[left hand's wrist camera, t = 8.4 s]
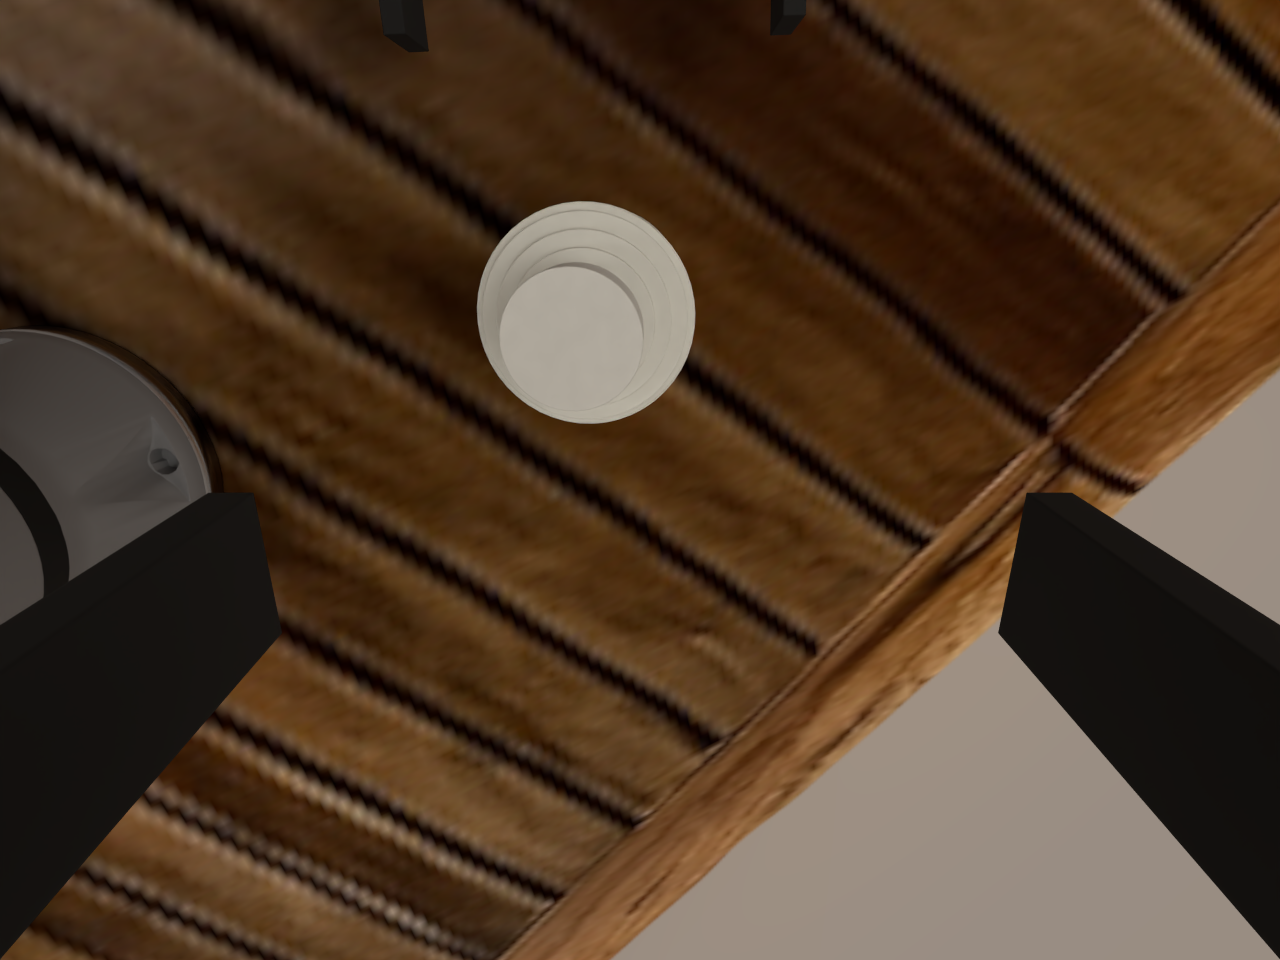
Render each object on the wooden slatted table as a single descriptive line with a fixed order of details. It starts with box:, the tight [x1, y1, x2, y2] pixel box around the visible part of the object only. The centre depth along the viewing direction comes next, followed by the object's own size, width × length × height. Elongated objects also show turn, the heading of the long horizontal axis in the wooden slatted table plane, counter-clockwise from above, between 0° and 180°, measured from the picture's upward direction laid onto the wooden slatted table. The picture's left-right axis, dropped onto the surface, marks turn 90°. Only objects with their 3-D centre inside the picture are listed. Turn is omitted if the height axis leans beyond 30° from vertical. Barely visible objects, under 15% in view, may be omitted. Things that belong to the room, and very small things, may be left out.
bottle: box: [477, 201, 695, 424], centre depth 27 cm, size 7×7×17 cm
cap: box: [499, 262, 644, 411], centre depth 19 cm, size 4×4×2 cm
